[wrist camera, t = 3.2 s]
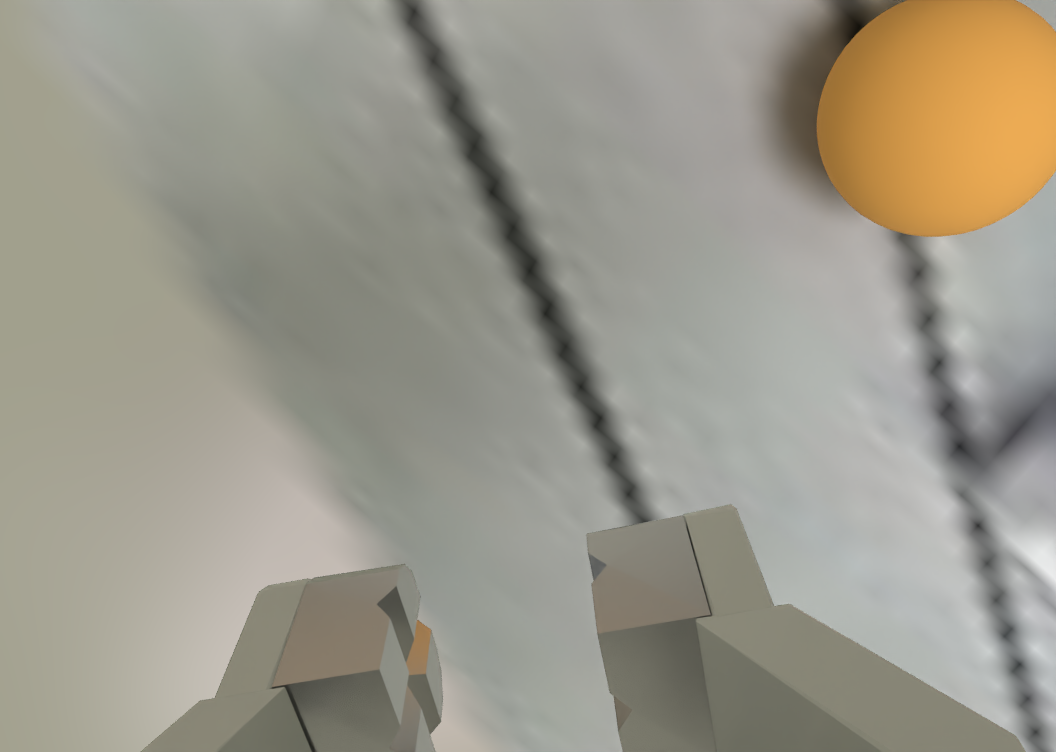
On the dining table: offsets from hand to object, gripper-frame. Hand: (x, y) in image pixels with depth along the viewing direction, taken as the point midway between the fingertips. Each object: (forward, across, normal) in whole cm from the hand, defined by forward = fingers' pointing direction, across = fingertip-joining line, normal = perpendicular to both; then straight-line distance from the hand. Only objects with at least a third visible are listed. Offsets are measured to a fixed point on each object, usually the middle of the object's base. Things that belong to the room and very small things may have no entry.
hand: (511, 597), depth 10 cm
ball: (+16, +11, 0) cm, 19 cm away
